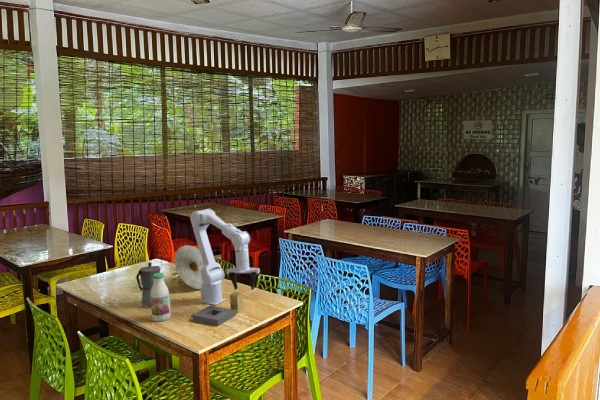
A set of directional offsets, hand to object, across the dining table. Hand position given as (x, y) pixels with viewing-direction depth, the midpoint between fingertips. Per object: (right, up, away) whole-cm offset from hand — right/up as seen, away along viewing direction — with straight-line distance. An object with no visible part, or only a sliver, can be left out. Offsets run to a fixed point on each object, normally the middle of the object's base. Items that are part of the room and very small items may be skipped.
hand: (244, 288), depth 209 cm
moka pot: (-45, -10, +11) cm, 48 cm away
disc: (-32, -6, +38) cm, 50 cm away
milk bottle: (-35, -12, -6) cm, 38 cm away
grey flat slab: (-12, -11, -7) cm, 18 cm away
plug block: (-3, -10, 0) cm, 10 cm away
